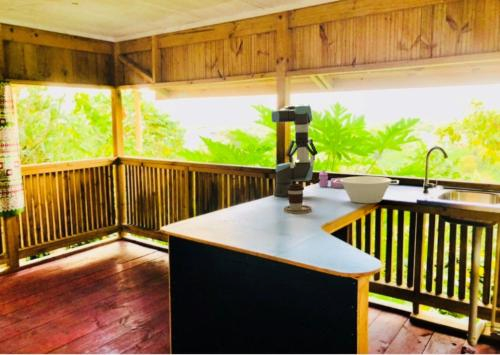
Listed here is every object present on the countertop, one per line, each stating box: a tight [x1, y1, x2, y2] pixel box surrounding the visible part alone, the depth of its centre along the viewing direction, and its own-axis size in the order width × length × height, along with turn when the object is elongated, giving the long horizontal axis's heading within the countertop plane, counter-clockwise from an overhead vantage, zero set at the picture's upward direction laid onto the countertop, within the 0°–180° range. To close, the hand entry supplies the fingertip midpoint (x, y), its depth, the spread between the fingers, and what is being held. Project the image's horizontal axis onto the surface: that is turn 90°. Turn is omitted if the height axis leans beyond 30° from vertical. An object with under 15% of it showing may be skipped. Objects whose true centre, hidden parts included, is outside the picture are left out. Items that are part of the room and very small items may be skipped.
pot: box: [333, 175, 400, 205], centre depth 259 cm, size 40×32×14 cm
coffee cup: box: [287, 183, 305, 210], centre depth 237 cm, size 10×10×15 cm
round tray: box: [283, 204, 313, 215], centre depth 239 cm, size 16×16×2 cm
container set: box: [318, 170, 345, 189], centre depth 321 cm, size 25×15×13 cm, turn 68°
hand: (302, 167), depth 243 cm, fingers open, 13 cm apart
